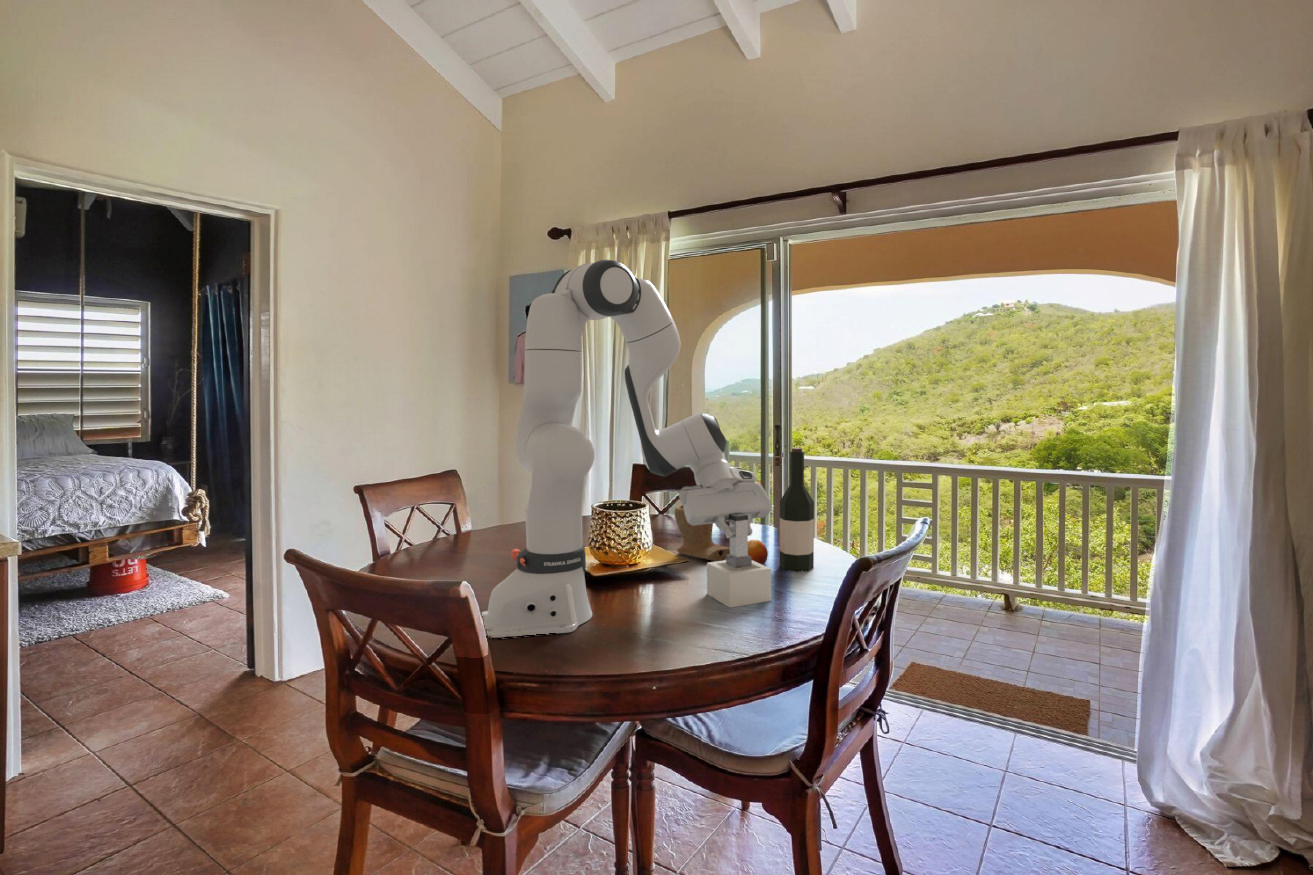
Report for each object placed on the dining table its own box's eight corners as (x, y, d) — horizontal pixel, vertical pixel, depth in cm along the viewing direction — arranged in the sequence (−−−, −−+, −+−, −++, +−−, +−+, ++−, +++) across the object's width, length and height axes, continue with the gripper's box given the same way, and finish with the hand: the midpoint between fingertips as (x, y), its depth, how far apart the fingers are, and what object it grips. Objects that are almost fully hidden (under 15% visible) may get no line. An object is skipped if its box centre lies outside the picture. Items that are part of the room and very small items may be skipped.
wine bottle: (820, 568, 165) (821, 448, 163) (796, 573, 161) (797, 450, 158) (796, 561, 172) (796, 446, 170) (772, 566, 167) (772, 448, 165)
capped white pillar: (735, 568, 141) (734, 517, 140) (726, 563, 144) (725, 513, 143) (751, 565, 142) (751, 515, 141) (742, 561, 146) (741, 512, 145)
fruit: (774, 566, 162) (757, 538, 162) (747, 582, 163) (730, 554, 164) (775, 558, 170) (759, 531, 170) (749, 572, 171) (732, 546, 172)
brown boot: (665, 556, 179) (665, 501, 178) (697, 548, 187) (697, 495, 185) (705, 567, 167) (704, 508, 166) (737, 559, 175) (737, 502, 174)
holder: (729, 607, 137) (729, 574, 137) (707, 593, 146) (706, 562, 146) (770, 600, 141) (770, 568, 140) (746, 587, 150) (746, 557, 150)
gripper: (680, 479, 144) (701, 532, 136) (760, 472, 152) (785, 522, 144) (672, 496, 148) (692, 549, 140) (750, 488, 156) (774, 538, 148)
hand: (740, 535), depth 142 cm, fingers closed on capped white pillar, 3 cm apart
